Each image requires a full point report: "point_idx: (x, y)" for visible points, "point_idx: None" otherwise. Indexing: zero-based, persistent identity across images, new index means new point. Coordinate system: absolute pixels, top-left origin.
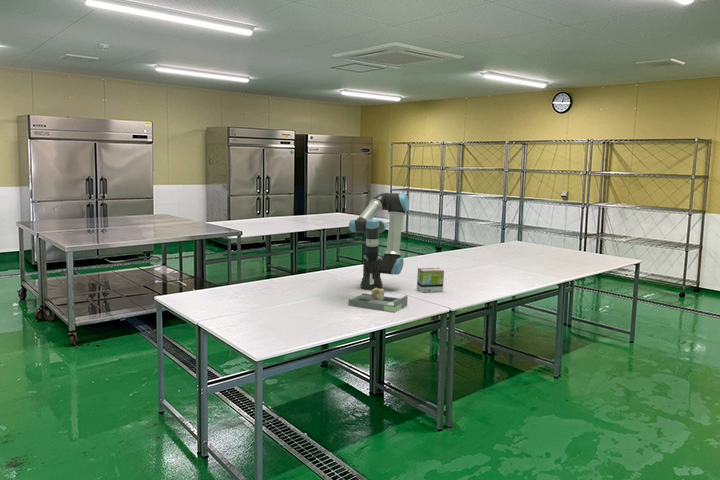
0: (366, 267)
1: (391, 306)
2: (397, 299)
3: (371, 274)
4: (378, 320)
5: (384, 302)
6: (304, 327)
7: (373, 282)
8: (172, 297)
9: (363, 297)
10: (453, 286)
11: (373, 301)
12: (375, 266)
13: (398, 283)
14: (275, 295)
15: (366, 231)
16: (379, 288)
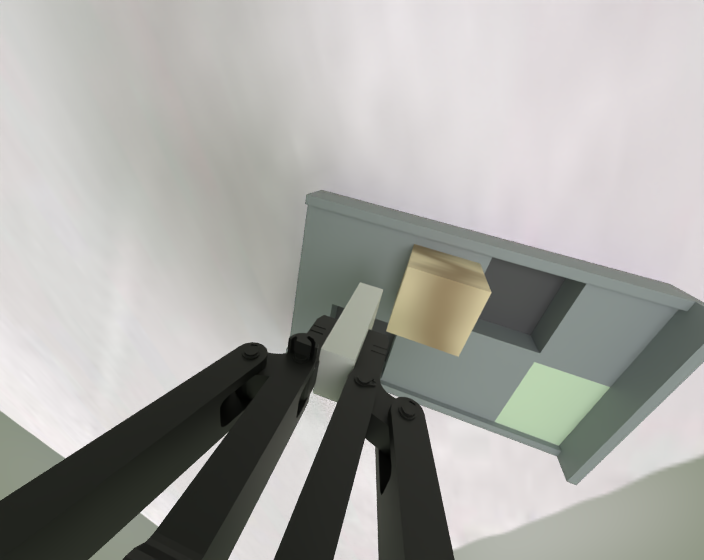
0: (212, 444)
1: (539, 445)
2: (601, 286)
3: (337, 396)
4: (471, 513)
5: (491, 372)
6: (278, 531)
7: (378, 303)
8: None
9: (340, 280)
10: None
11: (419, 357)
12: (349, 492)
13: None
14: (3, 242)
15: None
16: (444, 280)
